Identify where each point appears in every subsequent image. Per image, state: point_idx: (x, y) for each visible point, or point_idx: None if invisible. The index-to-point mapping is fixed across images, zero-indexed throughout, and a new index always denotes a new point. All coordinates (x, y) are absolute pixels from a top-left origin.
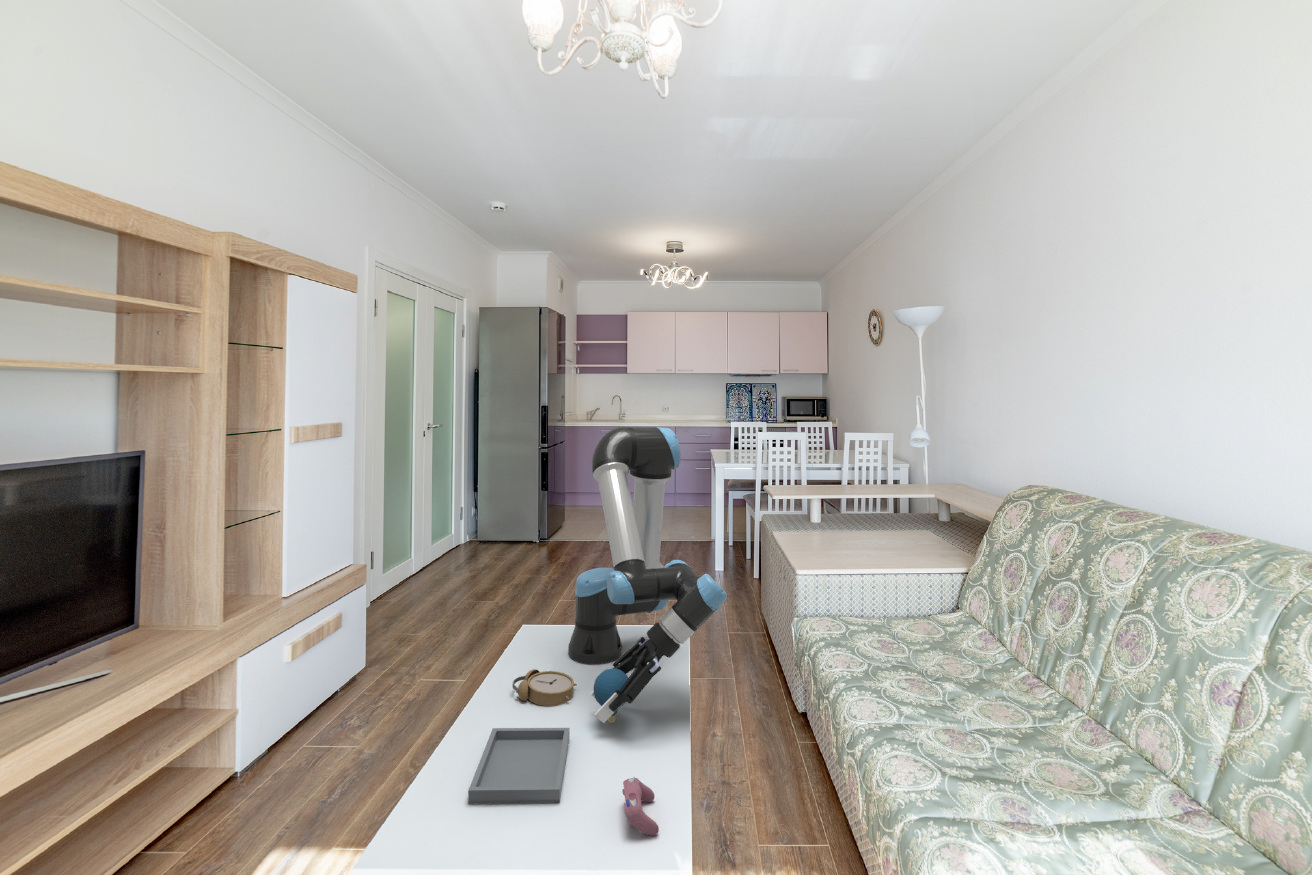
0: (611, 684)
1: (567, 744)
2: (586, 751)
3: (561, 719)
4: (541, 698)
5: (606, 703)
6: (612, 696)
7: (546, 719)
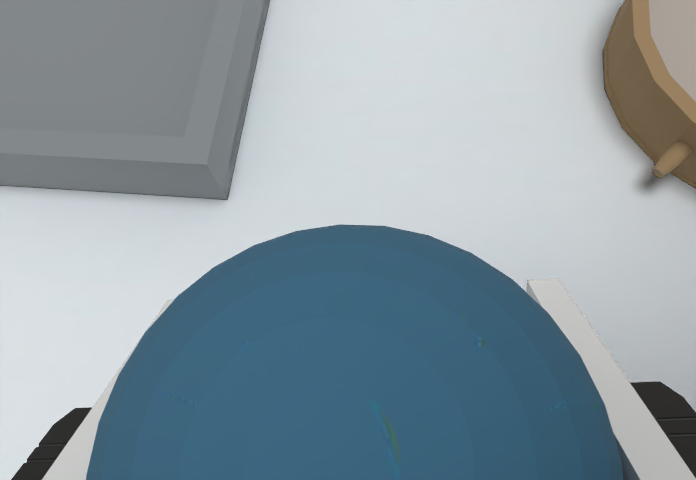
0: (106, 424)
1: (85, 170)
2: (83, 290)
3: (445, 153)
4: (623, 11)
5: (113, 381)
6: (81, 444)
7: (450, 80)
